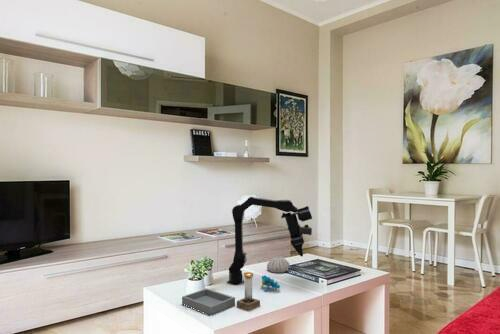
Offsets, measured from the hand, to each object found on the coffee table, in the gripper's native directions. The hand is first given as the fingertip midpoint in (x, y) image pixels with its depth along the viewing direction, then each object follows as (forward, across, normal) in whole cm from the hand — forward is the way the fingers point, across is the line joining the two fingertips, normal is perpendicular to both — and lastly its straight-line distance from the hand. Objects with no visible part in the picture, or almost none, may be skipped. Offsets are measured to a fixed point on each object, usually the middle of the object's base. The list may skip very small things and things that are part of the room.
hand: (301, 254), depth 179 cm
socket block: (+8, -31, +27) cm, 42 cm away
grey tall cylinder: (+8, -31, +27) cm, 42 cm away
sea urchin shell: (+12, +24, +16) cm, 31 cm away
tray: (+3, -32, +43) cm, 54 cm away
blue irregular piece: (+11, -9, +19) cm, 24 cm away
